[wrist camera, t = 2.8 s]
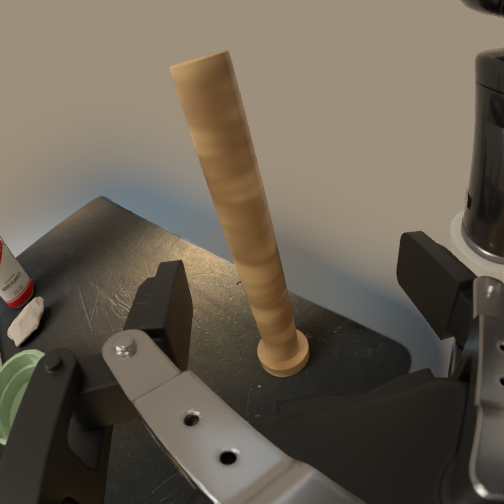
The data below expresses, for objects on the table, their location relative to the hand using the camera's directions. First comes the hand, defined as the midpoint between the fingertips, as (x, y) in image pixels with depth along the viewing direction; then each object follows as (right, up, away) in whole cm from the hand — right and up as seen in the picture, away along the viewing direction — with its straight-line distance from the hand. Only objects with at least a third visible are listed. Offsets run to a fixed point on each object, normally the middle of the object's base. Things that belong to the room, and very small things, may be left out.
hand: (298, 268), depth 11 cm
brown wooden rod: (+1, -9, +16) cm, 18 cm away
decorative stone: (-34, -11, +27) cm, 44 cm away
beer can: (-40, -7, +33) cm, 52 cm away
